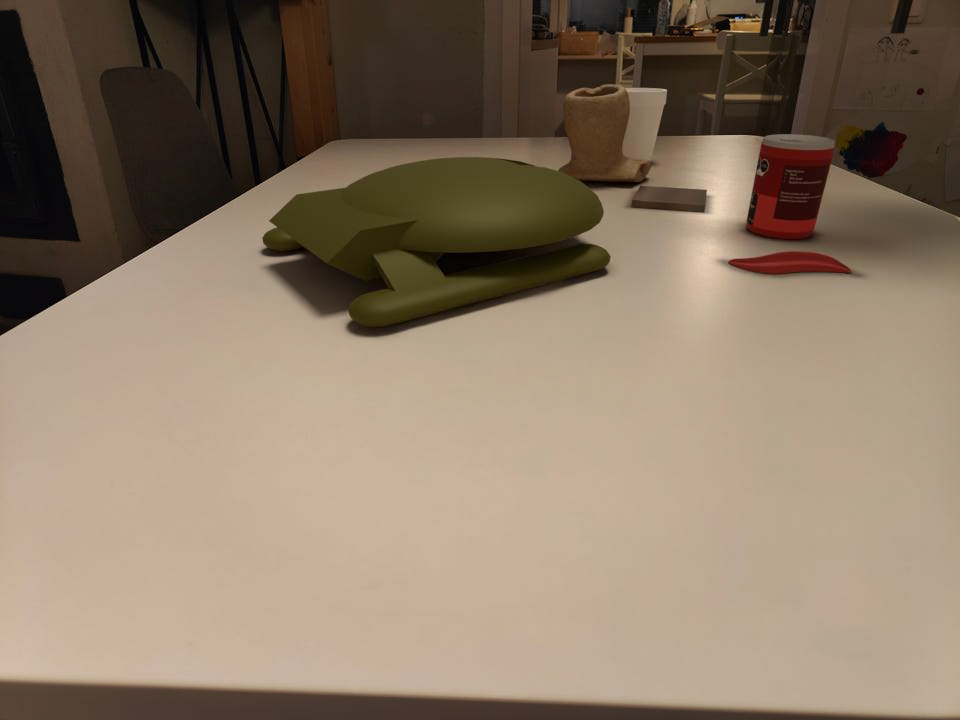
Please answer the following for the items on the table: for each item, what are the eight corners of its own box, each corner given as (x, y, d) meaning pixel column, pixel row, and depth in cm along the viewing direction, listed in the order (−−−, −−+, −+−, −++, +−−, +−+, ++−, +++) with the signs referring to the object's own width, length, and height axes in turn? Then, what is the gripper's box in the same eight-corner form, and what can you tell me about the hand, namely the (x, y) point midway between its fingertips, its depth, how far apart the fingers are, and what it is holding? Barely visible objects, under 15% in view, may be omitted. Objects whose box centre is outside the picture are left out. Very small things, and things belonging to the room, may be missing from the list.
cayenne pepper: (726, 268, 65) (729, 251, 64) (729, 255, 69) (732, 239, 68) (855, 283, 61) (860, 264, 60) (850, 268, 64) (855, 251, 64)
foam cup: (598, 161, 121) (604, 89, 115) (635, 157, 125) (643, 87, 119) (630, 169, 113) (638, 92, 107) (668, 164, 117) (678, 90, 111)
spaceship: (364, 340, 51) (351, 222, 46) (258, 247, 73) (242, 162, 69) (658, 260, 67) (670, 168, 63) (498, 205, 90) (498, 134, 86)
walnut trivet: (706, 196, 94) (707, 189, 94) (704, 212, 86) (705, 204, 85) (639, 192, 97) (640, 185, 97) (631, 206, 89) (632, 199, 88)
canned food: (763, 219, 82) (781, 132, 77) (824, 231, 77) (848, 139, 71) (732, 229, 78) (749, 138, 73) (794, 244, 72) (818, 146, 67)
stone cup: (549, 186, 101) (553, 87, 94) (564, 172, 111) (569, 82, 104) (643, 192, 97) (655, 88, 90) (650, 177, 107) (661, 83, 100)
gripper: (745, -208, 60) (711, 37, 70) (1056, -248, 53) (969, 32, 63) (742, -185, 66) (711, 37, 76) (1020, -218, 59) (946, 32, 69)
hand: (828, 35), depth 69 cm, fingers open, 13 cm apart
